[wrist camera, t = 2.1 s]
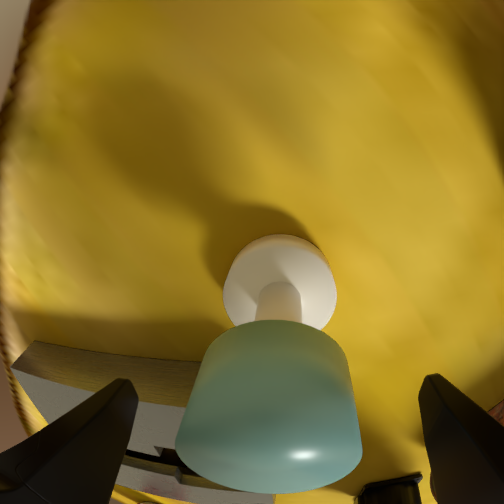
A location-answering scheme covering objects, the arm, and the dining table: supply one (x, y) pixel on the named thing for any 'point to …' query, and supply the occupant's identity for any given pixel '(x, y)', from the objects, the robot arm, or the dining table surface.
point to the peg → (274, 379)
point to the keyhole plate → (146, 419)
